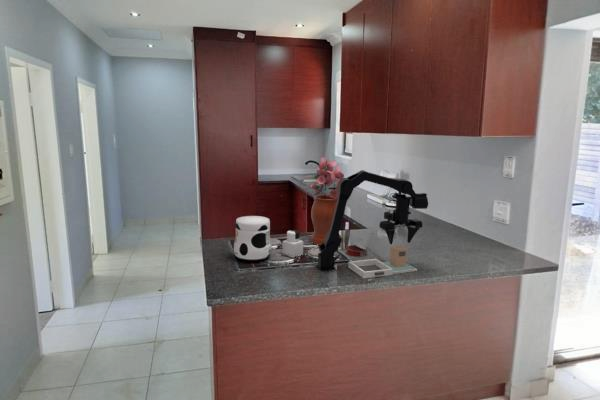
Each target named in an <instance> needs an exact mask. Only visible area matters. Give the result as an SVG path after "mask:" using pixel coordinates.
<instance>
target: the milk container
mask: <svg viewBox="0 0 600 400" xmlns="http://www.w3.org/2000/svg"><path fill="white" fill-rule="evenodd" d="M270 220H271V219H270V218H268V217H265V216H259V215H245V216H240V217H237V218H236V220H235V240H234V244H233V253H234V256H235V257H236V258H237V259H240V260H243V261H246V262H248V261H249V262H254V261H257V262H258V261H264V260H265V259H267V257H268V258H269V257H270V256H271V254H272V241H271V235H270V234H271V221H270Z"/></svg>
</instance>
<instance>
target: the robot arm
mask: <svg viewBox="0 0 600 400" xmlns="http://www.w3.org/2000/svg"><path fill="white" fill-rule="evenodd" d="M338 180H339V179H338ZM365 181H366V182H369V183H374V184H375V185H380V186H384V187H388V188H390V189H392V190H395V193H393V194H392V195H391V196H390V197H391V198H392V199H395V209H393V210H392V211H393V212H390V211H384V212H383V213H384V214H383V219H384V220H381V221H380V222H379V227H378V228H380V229H382V230H383V231H385V234H386V236H387V238H388V243H389V245H392V244H393V243H394V236H395V230H394V229H395V228H400V227H406V228H407V238H406V239H407V243H408V244H410V243H411V241H412V239H413V238H414V237H415V235H416V234H417V232H418V231H419V230H420V229H422V228H423V222H422V220H419V219H417V218H409V215H411V213H412V212H411V211H410V207H411V209H413V210H414V209H417V210H422V209H423V210H426V209H427V208H428V207H429V201H428V193H426V192H422V193H419V192H418V193H416V192H415V190H414V189H413V188H414V187H413V184H412V182H411V181H409V180H407V179H405V178H393V177H388V176H384V175H381V174H376V173H373V172H368V171H366V170H364V169H362V170H359V171H357V172H356V173H353V174H352V175H349V176H347V177H343V178H342V179H340V180H339V182H338V188H337V189H336V190H337V196H338V198H337V202H336V207H335V211H334V215H333V219H332V223H331V227H330V230H329V231H328V233H327V235H326V237H325V239H324V242H323V243H322V244H321V245H320V246H318V250H319V253H317V264H315V266H316V267H317V268H318V269H319V270H320V271H331V270H336V267H335V262H336V258H335V253H336V252H338V250H339V248H341V244H342V240H343V237H342V236H341V235H340V230H341V227H342V223H343V218H344V214H345V211H346V207H347V202H348V200H349V199H350V197H351V195H352V194H353V191H354V189H355V188H356V187H358V186H360V185H361V184H362V183H363V182H365ZM396 191H397V192H396ZM398 192H399V193H398Z"/></svg>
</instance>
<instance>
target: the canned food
mask: <svg viewBox="0 0 600 400" xmlns="http://www.w3.org/2000/svg"><path fill="white" fill-rule="evenodd" d="M349 239H350V241H351V243H353V244H351V245H347V246H346V253H345V254H346V255H347V254H348V255H347V256H349V255H350V256H349V257H354V258H363V257H365V256H367V255H368V254H367V253H368V248H367V247H366V246H365V245H363V244H362V243H360V242H359V241H357V240H355V239H354V238H353V237H352V236H351V235H349Z"/></svg>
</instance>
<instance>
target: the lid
mask: <svg viewBox="0 0 600 400" xmlns="http://www.w3.org/2000/svg"><path fill="white" fill-rule="evenodd" d="M381 262H382V263H384V264H385V265H387V266H389V267H391V268H392V269H393V275H396V274H402V273H403V274H405V273H412V272H418V269H417V268H416V267H414V266H412V265H410V264H409V263H407V262H406V266H404V267H395V266H393V265H391V264H390V260H388V261H381Z"/></svg>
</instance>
